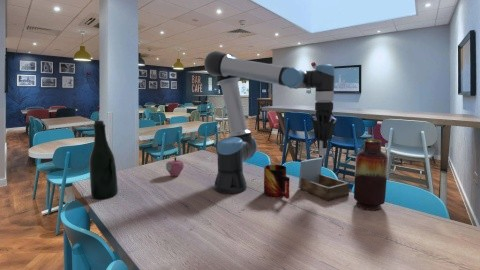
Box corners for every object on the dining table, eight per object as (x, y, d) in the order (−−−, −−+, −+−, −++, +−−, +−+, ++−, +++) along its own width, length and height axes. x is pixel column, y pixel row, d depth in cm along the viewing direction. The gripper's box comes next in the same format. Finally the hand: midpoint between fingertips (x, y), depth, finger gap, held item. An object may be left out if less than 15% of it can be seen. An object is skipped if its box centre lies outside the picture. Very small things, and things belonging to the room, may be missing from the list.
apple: (164, 175, 147) (163, 157, 145) (178, 172, 153) (177, 155, 151) (172, 179, 140) (171, 160, 138) (187, 176, 146) (186, 158, 144)
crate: (300, 190, 123) (300, 178, 122) (320, 185, 130) (320, 174, 129) (328, 201, 110) (328, 188, 109) (348, 195, 116) (349, 183, 116)
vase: (347, 203, 108) (350, 139, 104) (367, 199, 112) (371, 137, 108) (369, 214, 98) (374, 143, 94) (391, 209, 102) (396, 141, 98)
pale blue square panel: (300, 161, 122) (302, 161, 121) (321, 157, 128) (322, 158, 127) (298, 187, 124) (299, 188, 124) (318, 183, 131) (319, 183, 130)
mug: (288, 201, 110) (288, 173, 108) (259, 194, 118) (259, 168, 116) (298, 194, 118) (299, 168, 116) (271, 188, 126) (271, 163, 124)
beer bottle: (122, 195, 118) (116, 120, 113) (96, 201, 111) (89, 122, 106) (112, 189, 125) (107, 119, 120) (87, 195, 118) (81, 120, 113)
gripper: (342, 101, 112) (340, 156, 115) (318, 101, 123) (317, 151, 126) (330, 101, 108) (328, 159, 111) (306, 101, 119) (305, 153, 123)
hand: (322, 155), depth 119 cm, fingers closed
